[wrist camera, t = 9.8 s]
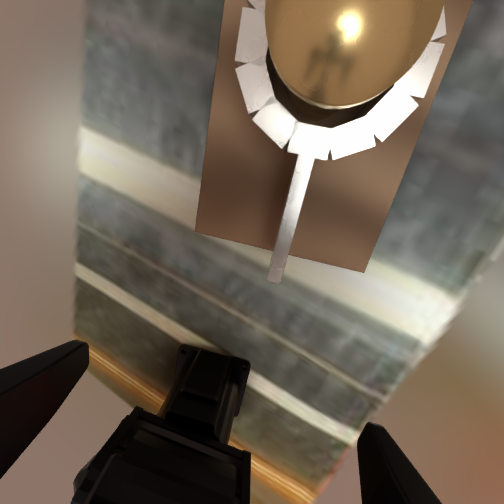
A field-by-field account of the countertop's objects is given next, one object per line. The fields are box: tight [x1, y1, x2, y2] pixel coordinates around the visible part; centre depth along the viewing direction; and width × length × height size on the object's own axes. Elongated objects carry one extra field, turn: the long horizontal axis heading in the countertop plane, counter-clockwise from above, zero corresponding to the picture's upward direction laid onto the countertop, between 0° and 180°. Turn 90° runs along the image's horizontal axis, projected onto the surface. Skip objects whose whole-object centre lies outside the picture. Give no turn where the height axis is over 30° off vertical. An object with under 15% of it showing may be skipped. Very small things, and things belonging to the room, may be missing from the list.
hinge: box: [235, 0, 446, 284], centre depth 12 cm, size 19×9×5 cm, turn 168°
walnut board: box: [195, 0, 473, 273], centre depth 15 cm, size 20×12×1 cm, turn 168°
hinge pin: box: [265, 0, 445, 121], centre depth 11 cm, size 5×5×8 cm
